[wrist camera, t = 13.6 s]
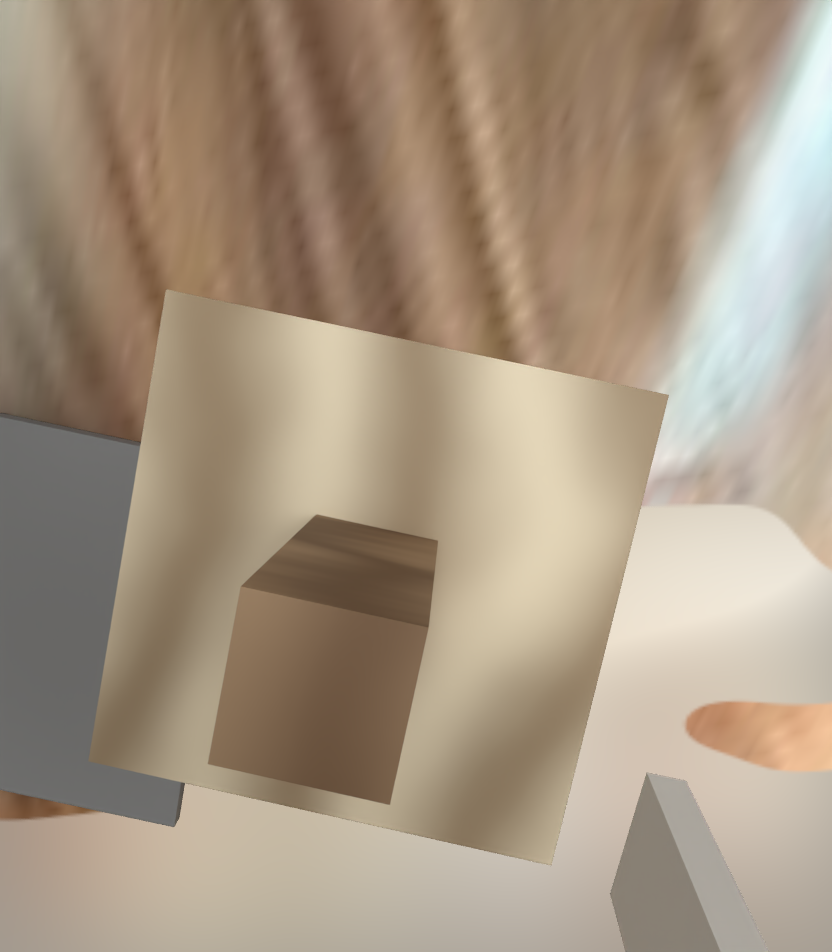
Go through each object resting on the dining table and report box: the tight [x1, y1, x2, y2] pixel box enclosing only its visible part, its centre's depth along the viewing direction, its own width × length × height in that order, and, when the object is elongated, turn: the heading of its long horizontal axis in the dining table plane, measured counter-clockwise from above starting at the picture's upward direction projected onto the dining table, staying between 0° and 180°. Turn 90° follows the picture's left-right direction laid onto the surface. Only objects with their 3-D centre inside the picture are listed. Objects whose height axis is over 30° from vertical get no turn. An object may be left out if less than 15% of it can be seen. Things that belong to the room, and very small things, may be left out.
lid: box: [88, 289, 669, 865], centre depth 22 cm, size 16×16×10 cm
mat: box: [0, 413, 185, 827], centre depth 40 cm, size 20×20×1 cm
